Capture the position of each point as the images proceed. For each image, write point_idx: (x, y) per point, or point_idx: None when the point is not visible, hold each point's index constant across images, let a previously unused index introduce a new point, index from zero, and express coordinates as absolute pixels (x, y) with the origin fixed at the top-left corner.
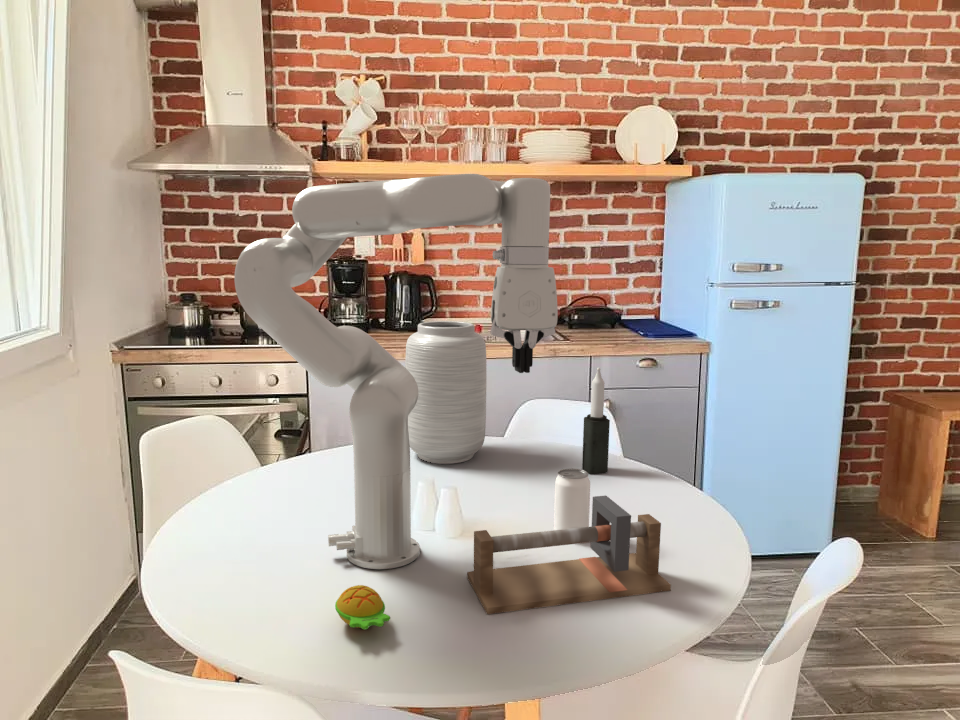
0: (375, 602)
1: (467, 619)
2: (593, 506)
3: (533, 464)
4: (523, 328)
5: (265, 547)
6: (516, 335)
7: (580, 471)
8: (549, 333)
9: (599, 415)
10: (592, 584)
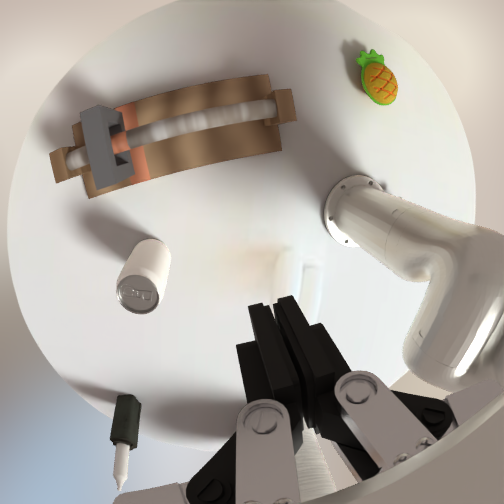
0: (372, 69)
1: (285, 70)
2: (119, 178)
3: (188, 413)
4: (423, 465)
5: None
6: (402, 429)
7: (127, 307)
8: (147, 501)
9: (119, 444)
10: (147, 117)
